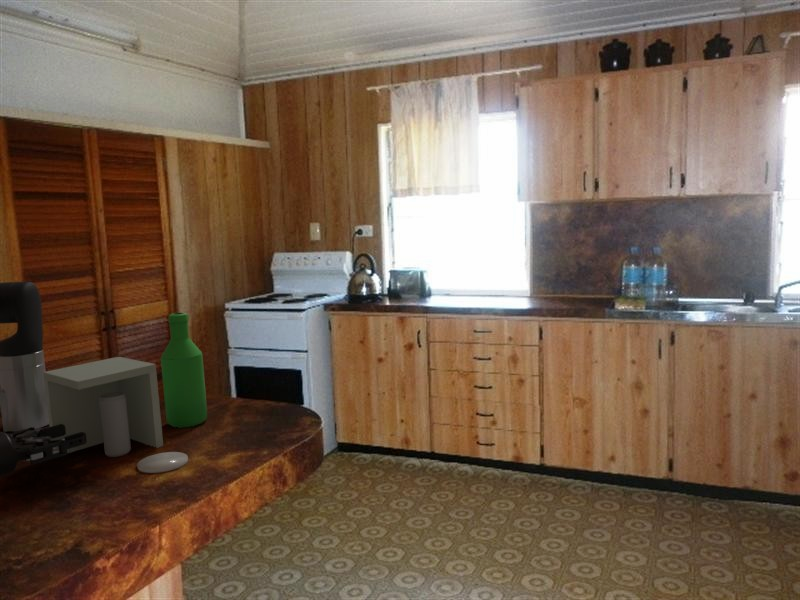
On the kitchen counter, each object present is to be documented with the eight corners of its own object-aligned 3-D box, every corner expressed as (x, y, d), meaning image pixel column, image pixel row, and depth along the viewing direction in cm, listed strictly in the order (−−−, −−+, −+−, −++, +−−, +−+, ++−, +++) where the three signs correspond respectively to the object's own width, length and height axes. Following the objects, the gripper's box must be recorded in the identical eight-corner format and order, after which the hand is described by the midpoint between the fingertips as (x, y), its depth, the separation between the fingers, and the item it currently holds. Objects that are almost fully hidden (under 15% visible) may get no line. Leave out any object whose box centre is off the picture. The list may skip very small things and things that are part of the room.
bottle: (195, 429, 143) (185, 316, 140) (159, 428, 145) (148, 317, 141) (214, 417, 152) (205, 310, 148) (180, 416, 153) (170, 310, 150)
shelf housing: (87, 470, 122) (77, 381, 119) (52, 455, 131) (43, 372, 128) (163, 445, 133) (155, 364, 131) (126, 433, 143) (118, 356, 140)
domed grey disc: (137, 476, 118) (136, 473, 118) (137, 459, 126) (137, 456, 126) (189, 467, 121) (189, 464, 121) (186, 451, 129) (186, 449, 129)
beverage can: (136, 450, 132) (130, 392, 130) (119, 458, 127) (112, 398, 126) (117, 448, 133) (111, 390, 132) (99, 456, 129) (92, 397, 127)
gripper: (-9, 447, 106) (90, 420, 118) (-40, 431, 115) (55, 407, 127) (-3, 491, 107) (95, 459, 119) (-34, 472, 116) (60, 444, 128)
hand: (74, 433), depth 123 cm, fingers open, 8 cm apart
